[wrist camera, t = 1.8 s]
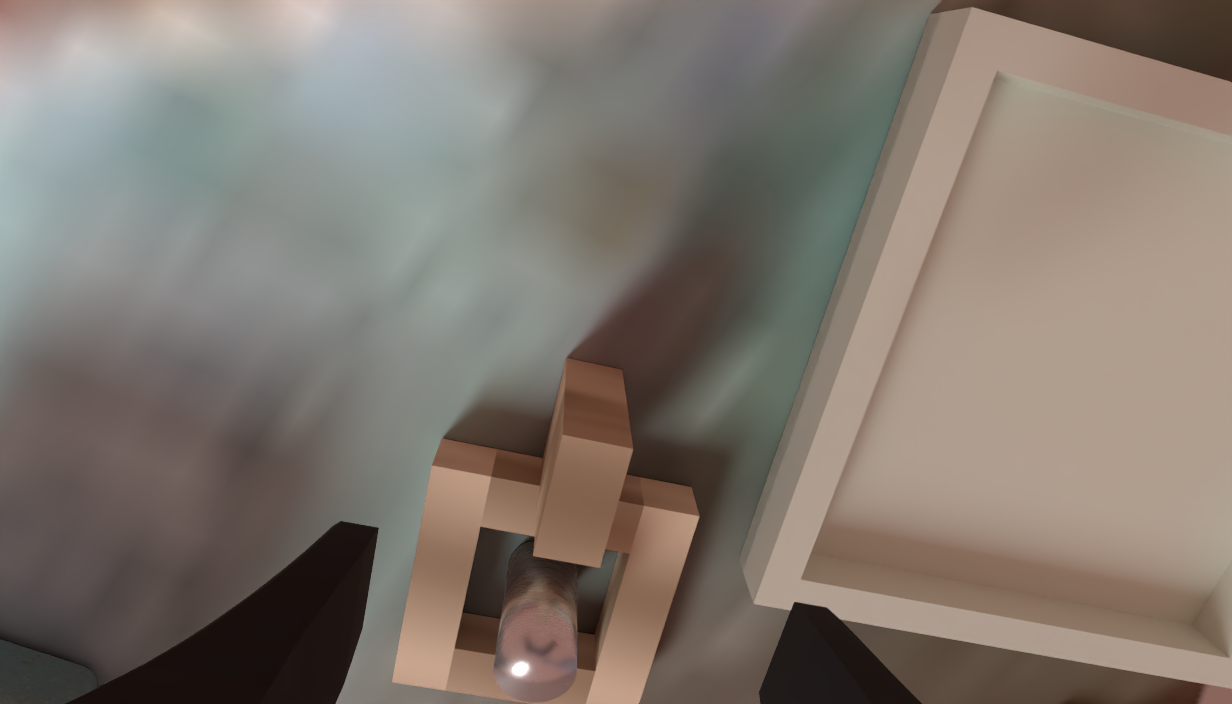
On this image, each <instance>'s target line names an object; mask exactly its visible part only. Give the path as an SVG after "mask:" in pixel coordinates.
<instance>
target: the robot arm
mask: <svg viewBox="0 0 1232 704" xmlns="http://www.w3.org/2000/svg"><path fill="white" fill-rule="evenodd" d="M378 529H379V528H377V527H371V526H365V525H360V524H354V523H349V522H343V521H340V522H339V523H337V524H335V525H334V526H332V527H331V528H330V529H329V530H328V531H327V532H326V533H325V534H324V535H323V536H322V537H320V538H319V539H318V540H317V541H316V542H315V543H314V544H313V545H312V546H310V547H309V548H308V549H307V550H306V551H305V552H304V553H302V554H301V555H300V556H299V557H298V558H296V559H295V560H294V561H293V562H292V563H291V564H289V565H288V566H287V567H286V568H284V569H283V570H282V571H281V572H279V573H278V574H277V575H276V576H274V577H273V578H272V579H271V580H269V581H268V582H267V583H265V584H264V585H263V586H262V587H260V588H259V589H258V590H257V591H255V592H254V593H253V594H251V595H250V596H249V597H247V598H246V599H244V600H243V601H242V602H240V603H239V604H237V605H236V606H235V607H233V608H232V609H230V610H229V611H227V612H226V613H225V614H223V615H222V616H220V617H219V618H217V619H216V620H215V621H213V622H212V623H210V624H209V625H207V626H206V627H204V628H203V629H201V630H200V631H198V632H197V633H195V634H194V635H192V636H190V637H189V638H187V639H186V640H184V641H182V642H181V643H179V644H178V645H176V646H174V647H173V648H171V649H169V650H168V651H166V652H164V653H162V654H161V655H159V656H157V657H156V658H154V659H152V660H150V661H149V662H147V663H145V664H143V665H141V666H140V667H138V668H136V669H134V670H132V671H130V672H128V673H126V674H124V675H122V676H120V677H118V678H116V679H114V680H112V681H110V682H108V683H106V684H104V685H102V686H100V687H98V688H96V689H94V690H92V691H90V692H88V693H86V694H84V695H82V696H80V697H78V698H76V699H74V700H72V701H70V702H67V703H65V704H335V703H336V701H337V699H338V696H339V694H340V692H341V690H342V688H343V685H344V682H345V679H346V676H347V673H348V670H349V667H350V664H351V661H352V658H353V655H354V652H355V649H356V646H357V643H358V640H359V637H360V634H361V631H362V628H363V621H364V615H365V609H366V603H367V597H368V591H369V585H370V578H371V572H372V566H373V560H374V554H375V548H376V542H377V535H378ZM759 695H760V703H761V704H922V703H921V702H920V701H919V700H918V699H917V698H916V697H915V696H914V695H913V694H912V693H911V692H910V691H909V690H908V689H907V688H906V687H905V686H904V685H903V684H902V683H901V682H900V681H899V680H898V679H897V678H896V677H895V676H894V675H893V674H892V673H891V672H890V671H889V670H888V669H887V668H886V667H885V666H884V665H883V664H882V662H881V661H880V660H879V659H878V658H877V657H876V656H875V655H874V654H873V653H872V652H871V651H870V650H869V649H868V648H867V647H866V646H865V645H864V644H863V643H862V641H861V640H860V639H859V638H858V637H857V636H856V635H855V634H854V633H853V632H852V631H851V630H850V629H849V628H848V627H847V626H846V625H845V624H844V623H843V622H842V621H841V620H840V619H839V618H838V617H837V616H836V615H835V614H834V613H833V612H831V611H830V610H829V609H828V608H827V607H822V606H816V605H810V604H805V603H799V602H794V604H793V606H792V609H791V611H790V614H789V617H788V619H787V622H786V624H785V627H784V629H783V632H782V635H781V637H780V640H779V642H778V645H777V647H776V650H775V653H774V655H773V658H772V660H771V663H770V665H769V668H768V671H767V673H766V676H765V678H764V681H763V683H762V686H761V689H760V691H759Z"/></svg>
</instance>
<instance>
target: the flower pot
mask: <svg viewBox="0 0 1232 704" xmlns="http://www.w3.org/2000/svg"><path fill="white" fill-rule="evenodd" d="M96 688H98V687H97V679H96V676H95V675H94V673H93V672H92V671H91V670H89V669H88V668H86V667H83V666H81V665H78V664H75V663H72V662H69V661H66V660H63V659H60V658H57V657H54V656H51V655H48V654H45V653H41V652H38V651H35V650H32V649H29V648H26V647H22V646H19V645H16V644H14V643H11V642H8V641H4V640H1V639H0V704H65V703H67V702H70V701H72V700H74V699H76V698H78V697H80V696H82V695H84V694H86V693H88V692H90V691H92V690H94V689H96Z"/></svg>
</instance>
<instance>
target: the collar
mask: <svg viewBox="0 0 1232 704" xmlns="http://www.w3.org/2000/svg"><path fill="white" fill-rule="evenodd" d="M632 452H633V443H632V436H631V429H630V422H629V415H628V407H627V400H626V393H625V386H624V379H623V372H622V370H621V369H617V368H612V367H607V366H603V365H598V364H593V363H589V362H584V361H579V360H574V359H570V358H566V361H565V365H564V370H563V374H562V378H561V382H560V387H559V391H558V395H557V399H556V403H555V408H554V412H553V416H552V420H551V424H550V429H549V433H548V437H547V441H546V446H545V450H544V454H543V458H540V457H535V456H529V455H524V454H519V453H514V452H509V451H504V450H499V449H494V448H488V447H483V446H478V445H473V444H468V443H463V442H458V441H453V440H448V439H442V440H441V442H440V445H439V448H438V450H437V453H436V456H435V458H434V461H433V464H432V467H431V473H430V478H429V484H428V489H427V494H426V500H425V505H424V511H423V516H422V522H421V527H420V532H419V538H418V543H417V549H416V554H415V560H414V565H413V570H412V576H411V581H410V587H409V592H408V598H407V603H406V609H405V614H404V619H403V625H402V630H401V636H400V641H399V647H398V652H397V657H396V663H395V668H394V674H393V679H392V682H394V683H401V684H407V685H413V686H420V687H426V688H433V689H439V690H446V691H452V692H459V693H465V694H471V695H478V696H484V697H491V698H497V699H504V700H510V701H517V702H523V703H529V704H639V702H640V699H641V696H642V693H643V690H644V686H645V683H646V680H647V677H648V674H649V671H650V668H651V665H652V662H653V659H654V656H655V652H656V649H657V646H658V643H659V640H660V637H661V634H662V631H663V628H664V625H665V622H666V618H667V615H668V612H669V609H670V606H671V603H672V600H673V597H674V594H675V591H676V588H677V584H678V581H679V578H680V575H681V572H682V569H683V566H684V563H685V560H686V557H687V554H688V550H689V547H690V544H691V541H692V538H693V535H694V532H695V529H696V526H697V523H698V519H699V513H698V509H697V505H696V502H695V498H694V494H693V490H692V487H688V486H683V485H678V484H673V483H668V482H662V481H657V480H652V479H647V478H642V477H637V476H632V475H627V474H626V473H627V470H628V466H629V463H630V459H631V456H632ZM480 527H485V528H491V529H496V530H502V531H507V532H513V533H518V534H523V535H529V536H534V537H535V540H534V550H533V556H536V557H541V558H547V559H552V560H558V561H563V562H569V563H575V564H580V565H586V566H591V567H597V568H600V566H601V562H602V559H603V555H604V552H605V549H606V550H611V551H617V552H618V555H617V558H616V562H615V565H614V569H613V572H612V576H611V579H610V583H609V586H608V589H607V593H606V596H605V600H604V603H603V607H602V610H601V614H600V617H599V621H598V624H597V628H596V631H595V635H593V634H587V633H581V632H577V674H576V678H575V681H574V683H573V684H572V686H571V687H570V688H569V689H568V690H567V691H566V692H565V693H564V694H563V695H561V696H559V697H557V698H555V699H553V700H550V701H546V702H539V703H531V702H524V701H520V700H517V699H515V698H513V697H511V696H509V695H508V694H506V693H505V692H504V691H503V690H502V689H501V688H500V687H499V685H498V684H497V682H496V680H495V677H494V672H493V667H494V660H495V654H496V647H497V640H498V633H499V626H500V619H498V618H492V617H486V616H480V615H474V614H468V613H462V611H463V607H464V602H465V597H466V593H467V588H468V583H469V579H470V574H471V569H472V565H473V560H474V555H475V551H476V546H477V541H478V537H479V532H480Z"/></svg>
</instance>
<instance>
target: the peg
mask: <svg viewBox="0 0 1232 704" xmlns="http://www.w3.org/2000/svg"><path fill="white" fill-rule="evenodd" d="M533 550H534V540H532V541H529V542H526V543H524V544H523V545H521V546H520V547H518V548H517V549H516V550H515V551H514V553H513V554H512V556H511V558H510V560H509V564H508V571H507V578H506V585H505V592H504V599H503V606H502V612H501V619H500V626H499V633H498V640H497V647H496V654H495V660H494V667H493V672H494V677H495V680H496V682H497V684H498V685H499V687H500V688H501V689H502V690H503V691H504V692H505V693H506V694H508V695H509V696H511V697H513V698H515V699H517V700H520V701H524V702H531V703H539V702H546V701H550V700H553V699H555V698H557V697H559V696H561V695H563V694H564V693H565V692H566V691H567V690H568V689H569V688H570V687H571V686H572V684H573V683H574V681H575V678H576V674H577V580H578V566H577V564H575V563H569V562H563V561H558V560H552V559H547V558H541V557H536V556H533Z"/></svg>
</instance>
